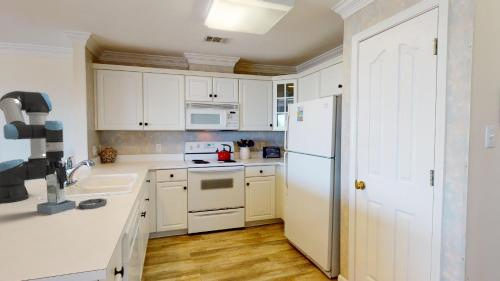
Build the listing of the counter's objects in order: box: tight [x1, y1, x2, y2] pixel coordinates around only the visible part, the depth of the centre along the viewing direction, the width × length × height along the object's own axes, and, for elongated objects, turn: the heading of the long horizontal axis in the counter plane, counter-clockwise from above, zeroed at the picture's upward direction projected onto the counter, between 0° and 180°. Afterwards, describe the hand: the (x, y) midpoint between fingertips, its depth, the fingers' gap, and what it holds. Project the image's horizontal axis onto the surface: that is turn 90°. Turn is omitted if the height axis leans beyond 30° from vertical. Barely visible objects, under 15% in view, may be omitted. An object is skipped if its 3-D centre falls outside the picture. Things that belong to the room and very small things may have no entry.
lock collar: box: [78, 197, 108, 210], centre depth 149 cm, size 13×13×2 cm
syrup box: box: [45, 173, 67, 203], centre depth 140 cm, size 6×6×14 cm
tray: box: [36, 199, 77, 216], centre depth 141 cm, size 12×12×4 cm
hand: (56, 194), depth 140 cm, fingers closed on syrup box, 7 cm apart
